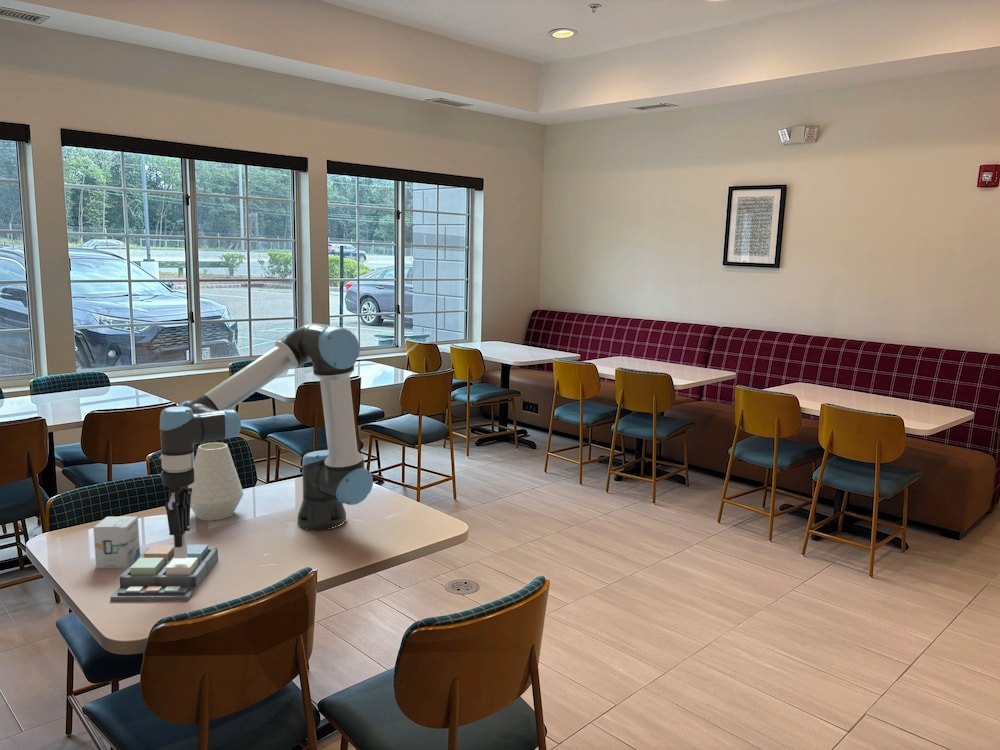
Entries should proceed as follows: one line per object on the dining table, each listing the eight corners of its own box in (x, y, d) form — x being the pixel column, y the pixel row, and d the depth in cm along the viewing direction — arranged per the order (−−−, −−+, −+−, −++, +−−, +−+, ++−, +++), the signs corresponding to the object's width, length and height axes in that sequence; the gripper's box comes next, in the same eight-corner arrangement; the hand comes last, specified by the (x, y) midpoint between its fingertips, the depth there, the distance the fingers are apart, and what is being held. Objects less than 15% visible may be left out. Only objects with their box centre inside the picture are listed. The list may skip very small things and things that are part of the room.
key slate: (208, 553, 199) (208, 544, 198) (201, 562, 193) (201, 553, 192) (185, 553, 198) (185, 544, 198) (178, 562, 192) (177, 553, 192)
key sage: (164, 566, 190) (163, 557, 189) (155, 576, 184) (154, 567, 183) (140, 566, 189) (139, 557, 189) (130, 576, 183) (130, 567, 183)
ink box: (109, 555, 202) (106, 515, 200) (141, 555, 203) (138, 515, 201) (95, 568, 194) (92, 526, 192) (128, 568, 194) (125, 527, 192)
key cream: (198, 566, 190) (197, 557, 190) (190, 576, 184) (189, 567, 184) (174, 566, 190) (174, 557, 189) (165, 576, 184) (165, 567, 183)
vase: (209, 503, 245) (207, 436, 242) (254, 509, 241) (253, 442, 237) (173, 520, 229) (170, 449, 225) (221, 527, 224) (219, 455, 221)
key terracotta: (176, 553, 198) (175, 544, 198) (167, 562, 192) (167, 553, 192) (153, 553, 198) (152, 544, 197) (144, 562, 192) (143, 553, 191)
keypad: (218, 559, 201) (217, 547, 201) (188, 600, 178) (188, 586, 177) (149, 559, 200) (148, 547, 199) (110, 601, 176) (109, 587, 176)
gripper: (172, 461, 189) (174, 547, 192) (152, 475, 176) (155, 567, 180) (201, 461, 189) (203, 547, 193) (184, 476, 176) (187, 568, 180)
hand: (180, 557), depth 186 cm, fingers closed
